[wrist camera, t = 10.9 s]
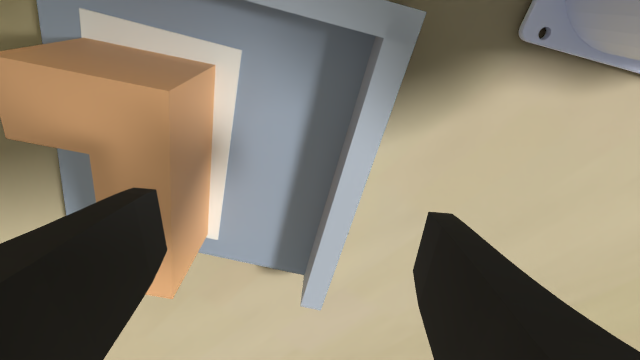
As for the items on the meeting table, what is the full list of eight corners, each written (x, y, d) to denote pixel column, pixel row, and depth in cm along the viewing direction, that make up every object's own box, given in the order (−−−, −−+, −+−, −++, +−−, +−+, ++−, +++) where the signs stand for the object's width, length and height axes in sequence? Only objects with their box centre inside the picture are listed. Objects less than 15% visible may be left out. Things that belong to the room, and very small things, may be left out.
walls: (408, 8, 15) (426, 12, 12) (322, 268, 23) (320, 310, 20) (42, -95, 14) (-41, -120, 11) (78, 215, 22) (35, 251, 19)
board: (408, 8, 15) (413, 9, 14) (322, 268, 23) (322, 280, 22) (42, -95, 14) (20, -101, 13) (78, 215, 22) (66, 225, 21)
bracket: (207, 234, 21) (172, 298, 16) (106, 215, 20) (42, 277, 16) (215, 65, 16) (168, 91, 11) (83, 37, 15) (-17, 53, 11)
